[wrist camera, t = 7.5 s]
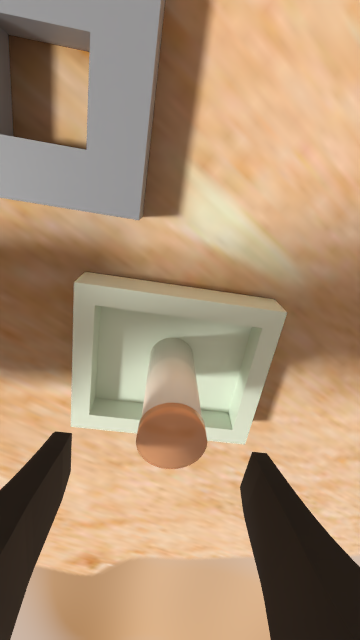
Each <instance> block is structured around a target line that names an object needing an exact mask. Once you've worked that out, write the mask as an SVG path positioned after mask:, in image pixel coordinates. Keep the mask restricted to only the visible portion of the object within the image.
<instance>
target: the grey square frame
mask: <svg viewBox="0 0 360 640" xmlns="http://www.w3.org/2000/svg"><path fill="white" fill-rule="evenodd" d="M164 8H165V0H0V198H6V199H12V200H18V201H25V202H31V203H37V204H43V205H49V206H55V207H61V208H67V209H74V210H80V211H86V212H92V213H98V214H104V215H110V216H116V217H123V218H129V219H135V220H140V219H141V218H142V217H143V209H144V200H145V190H146V180H147V171H148V161H149V152H150V142H151V133H152V123H153V114H154V104H155V94H156V85H157V75H158V66H159V56H160V47H161V37H162V27H163V18H164ZM8 35H12V36H17V37H22V38H26V39H31V40H36V41H41V42H46V43H50V44H55V45H60V46H65V47H69V48H74V49H79V50H84V51H89V52H90V57H89V88H88V119H87V150H85V149H79V148H74V147H68V146H63V145H57V144H52V143H46V142H41V141H35V140H30V139H24V138H19V137H13V117H12V97H11V77H10V57H9V37H8Z"/></svg>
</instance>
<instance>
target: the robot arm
mask: <svg viewBox="0 0 360 640" xmlns="http://www.w3.org/2000/svg"><path fill="white" fill-rule="evenodd" d="M71 442H72V433H65V432H54V433H53V434H52V435H51V436H50V437H49V439H48V440H47V441H46V442H45V443H44V444H43V446H42V447H41V448H40V449H39V450H38V451H37V452H36V454H35V455H34V456H33V457H32V458H31V459H30V460H29V461H28V462H27V463H26V464H25V466H24V467H23V468H22V469H21V470H20V471H19V472H18V473H17V474H16V475H15V476H14V477H13V478H12V479H11V480H10V481H9V482H8V483H7V484H6V485H5V486H4V487H3V488H2V489H1V490H0V640H10V638H11V635H12V632H13V629H14V626H15V623H16V619H17V616H18V613H19V610H20V607H21V604H22V601H23V598H24V595H25V592H26V588H27V586H28V583H29V580H30V577H31V575H32V572H33V569H34V567H35V564H36V562H37V560H38V557H39V555H40V552H41V550H42V548H43V545H44V543H45V540H46V538H47V535H48V533H49V531H50V528H51V526H52V523H53V521H54V518H55V516H56V514H57V511H58V509H59V506H60V504H61V501H62V498H63V495H64V492H65V489H66V485H67V482H68V478H69V475H70V472H71ZM240 490H241V498H242V506H243V512H244V518H245V522H246V526H247V530H248V534H249V538H250V542H251V546H252V550H253V554H254V558H255V562H256V566H257V570H258V574H259V578H260V582H261V587H262V591H263V596H264V601H265V607H266V613H267V619H268V625H269V631H270V637H271V640H360V567H359V566H358V565H357V564H356V563H355V562H354V561H353V560H352V559H351V558H350V556H349V555H348V554H347V553H346V552H345V551H344V550H343V549H342V548H341V547H340V546H339V545H338V544H337V543H336V541H335V540H334V539H333V538H332V537H331V536H330V535H329V534H328V532H327V531H326V530H325V529H324V528H323V527H322V525H321V524H320V523H319V522H318V521H317V519H316V518H315V517H314V516H313V515H312V513H311V512H310V511H309V510H308V508H307V507H306V506H305V504H304V503H303V502H302V501H301V499H300V498H299V497H298V495H297V494H296V493H295V491H294V490H293V489H292V487H291V486H290V485H289V483H288V482H287V481H286V479H285V478H284V477H283V475H282V474H281V472H280V471H279V470H278V468H277V467H276V465H275V464H274V463H273V461H272V460H271V459H270V457H269V456H268V454H267V453H258V452H252V454H251V457H250V460H249V463H248V466H247V469H246V472H245V474H244V477H243V480H242V483H241V486H240Z"/></svg>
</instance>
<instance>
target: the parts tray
mask: <svg viewBox="0 0 360 640" xmlns="http://www.w3.org/2000/svg"><path fill="white" fill-rule="evenodd" d="M286 315H287V312H286V311H285V310H284V309H283V308H282V307H281V306H280V304H279V303H278V302H277V301H276V300H275V299H269V298H262V297H256V296H249V295H242V294H235V293H228V292H221V291H215V290H208V289H201V288H194V287H187V286H180V285H174V284H167V283H160V282H153V281H146V280H139V279H133V278H126V277H119V276H112V275H105V274H98V273H91V272H84V273H83V274H82V275H81V276H80V277H79V278H78V279H77V280H76V281H75V282H74V301H73V348H72V395H71V427H79V428H89V429H99V430H108V431H118V432H128V433H137V431H138V425H139V422H140V419H141V418H142V411H143V403H144V396H145V389H146V382H147V374H148V367H149V360H150V353H151V350H152V348H153V346H154V345H155V344H156V343H157V342H159V341H160V340H162V339H165V338H172V337H173V338H179V339H182V340H184V341H185V342H186V343H188V344H189V346H190V347H191V349H192V351H193V356H194V363H195V371H196V378H197V386H198V393H199V400H200V408H201V415H202V418H203V420H204V423H205V429H206V436H207V441H216V442H226V443H236V444H245V443H246V440H247V437H248V433H249V430H250V427H251V424H252V421H253V418H254V415H255V412H256V409H257V405H258V402H259V399H260V396H261V393H262V390H263V387H264V384H265V381H266V377H267V374H268V371H269V368H270V365H271V362H272V359H273V356H274V353H275V349H276V346H277V343H278V340H279V337H280V334H281V331H282V328H283V325H284V321H285V318H286Z"/></svg>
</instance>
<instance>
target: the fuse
mask: <svg viewBox="0 0 360 640" xmlns="http://www.w3.org/2000/svg"><path fill="white" fill-rule="evenodd" d="M136 446H137V450H138V452H139V454H140V455H141V456H142V458H143V459H144V460H146V461H147V462H148V463H150V464H152V465H154V466H157V467H160V468H165V469H177V468H182V467H186V466H188V465H191V464H192V463H194V462H196V461H197V460H198V459H199V458H200V457H201V456H202V455H203V453H204V452H205V449H206V446H207V436H206V429H205V423H204V420H203V418H202V415H201V408H200V400H199V393H198V386H197V378H196V371H195V363H194V356H193V351H192V349H191V347H190V346H189V344H188V343H186V342H185V341H184V340H182V339H179V338H173V337H172V338H165V339H162V340H160V341H159V342H157V343H156V344H155V345H154V346H153V348H152V350H151V353H150V360H149V367H148V374H147V382H146V389H145V396H144V403H143V411H142V418H141V419H140V422H139V425H138V431H137V438H136Z"/></svg>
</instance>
